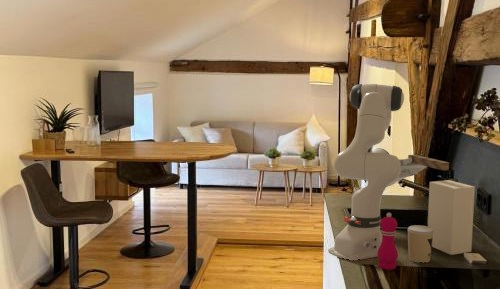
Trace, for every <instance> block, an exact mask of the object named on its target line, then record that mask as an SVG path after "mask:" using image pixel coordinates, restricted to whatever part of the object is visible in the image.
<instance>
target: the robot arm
mask: <svg viewBox="0 0 500 289" xmlns="http://www.w3.org/2000/svg"><path fill="white" fill-rule="evenodd" d="M404 101H405V94H404V91H403V89H402V87H400V86H396V85H386V84H377V83H369V84H368V83H365V84H362V83H359V84H354V85H353V86H352V87H351V90H350V93H349V102H350V105H351V106H352V107H353V108H354V109H357V110H358V116H357V123H356V128H355V134H354V137H353V139H352V141H351V142H350V144H349V145H348V146H347V147H346V148H345V149H344V150H342V151H340V152H339V153H337V155H336V157H335V159H334V161H333V168H334V172H335V173H336V174H337V175H338V177H340V178H344V179H348V180H357V181H359V180H360V181H366V182H367V185H366V186H364V187H362V188H359V189H358V190H355V191H354V192H353V193H352V195H351V212H350V214H349V216H344V217H343V222H346V223H347V225H346V226H345V227H343V228H342V230H341V231H340V232H339V233H338V234H337V235H336V236H335V239H334V246H332V247H330V248H328V250H327V252H328V253H329V254H330V255H332V256H334V257H336V258H340V259H342V258H344V259H343V260H346V259H349V260H348V261H353V260H354V261H359V260H358V259H360V260H365V259H372V258H376V257H378V256H377V253H378V249H379V247H380V245H381V243H382V234H381V232H382V231H381V226H380V222H381V220H382V216H381V202H382V197H383V194H384V192H385V190H386V188H389V187H392V186H393V185H395V184H396V183H397V182H400V181H401V180H403V179H406V178H408V177H412V176H416V175H418V174H419V172H421V171H423V170H424V169H426V168H428V167H427V166H423V165H419V164H415V163H411V162H413V161H414V159H413V157H409V158H408V157H407V158H405V159H404V158H398V156H396V155H393V154H390V153H389V152H388V151H387V150H385V149H384V148H381V147H378V148H375V149H374V148H373V147H374V146H376V145H378V144H380V143H382V142H383V140H384V139H385V135H386V131H387V130H388V128H390V124H391V121H392V112H397V111H399V110H401V109H402V106H403V104H404ZM373 149H374V150H373Z"/></svg>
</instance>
